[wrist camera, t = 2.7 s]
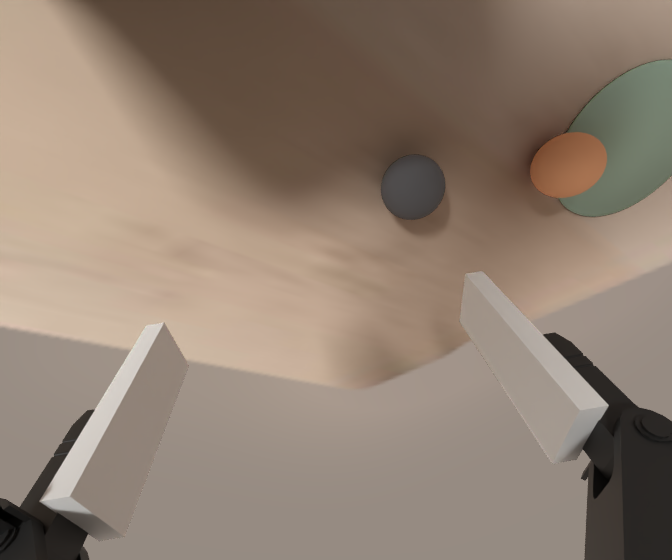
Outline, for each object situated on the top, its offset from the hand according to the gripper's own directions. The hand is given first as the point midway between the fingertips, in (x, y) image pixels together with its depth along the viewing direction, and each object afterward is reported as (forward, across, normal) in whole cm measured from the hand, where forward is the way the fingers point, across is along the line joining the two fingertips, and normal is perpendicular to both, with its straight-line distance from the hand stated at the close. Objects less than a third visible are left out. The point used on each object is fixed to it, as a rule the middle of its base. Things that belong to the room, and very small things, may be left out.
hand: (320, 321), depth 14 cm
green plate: (+19, +31, -1) cm, 36 cm away
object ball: (+16, +23, 0) cm, 28 cm away
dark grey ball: (+16, +9, 0) cm, 18 cm away
